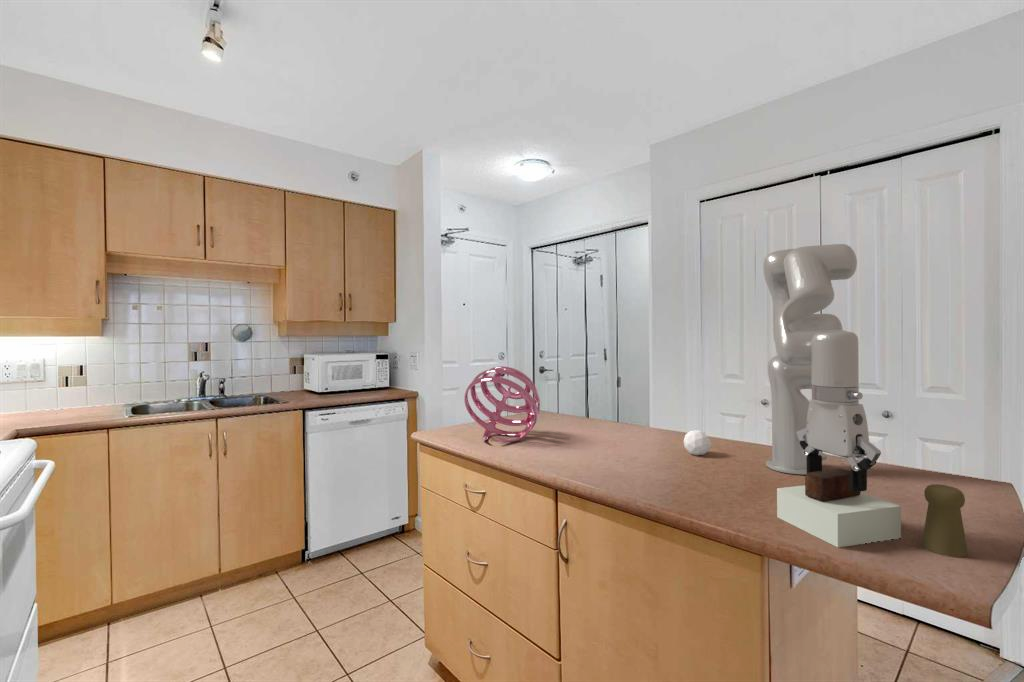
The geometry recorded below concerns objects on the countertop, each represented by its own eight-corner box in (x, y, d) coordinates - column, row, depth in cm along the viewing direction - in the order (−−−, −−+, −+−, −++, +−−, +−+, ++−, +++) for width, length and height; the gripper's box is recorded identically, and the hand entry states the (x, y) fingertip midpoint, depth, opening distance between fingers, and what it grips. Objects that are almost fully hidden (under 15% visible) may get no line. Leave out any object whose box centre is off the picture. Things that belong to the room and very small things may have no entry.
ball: (702, 462, 146) (717, 441, 146) (697, 459, 139) (713, 437, 139) (681, 447, 150) (696, 427, 150) (676, 443, 144) (691, 422, 144)
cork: (911, 542, 84) (911, 481, 84) (942, 540, 85) (942, 480, 84) (945, 558, 78) (945, 493, 78) (978, 556, 78) (978, 491, 78)
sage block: (833, 510, 99) (833, 482, 99) (901, 538, 86) (900, 506, 85) (777, 517, 96) (776, 488, 96) (837, 547, 83) (837, 514, 82)
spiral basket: (500, 395, 147) (525, 344, 167) (436, 409, 162) (466, 361, 182) (541, 455, 158) (561, 400, 178) (478, 463, 173) (502, 412, 193)
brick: (823, 503, 87) (823, 478, 87) (804, 496, 91) (804, 472, 91) (863, 496, 91) (863, 472, 91) (843, 489, 95) (843, 466, 95)
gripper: (895, 400, 83) (895, 496, 83) (813, 388, 100) (813, 468, 100) (860, 402, 81) (861, 500, 81) (783, 390, 98) (784, 471, 98)
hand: (835, 482), depth 91 cm, fingers open, 9 cm apart
